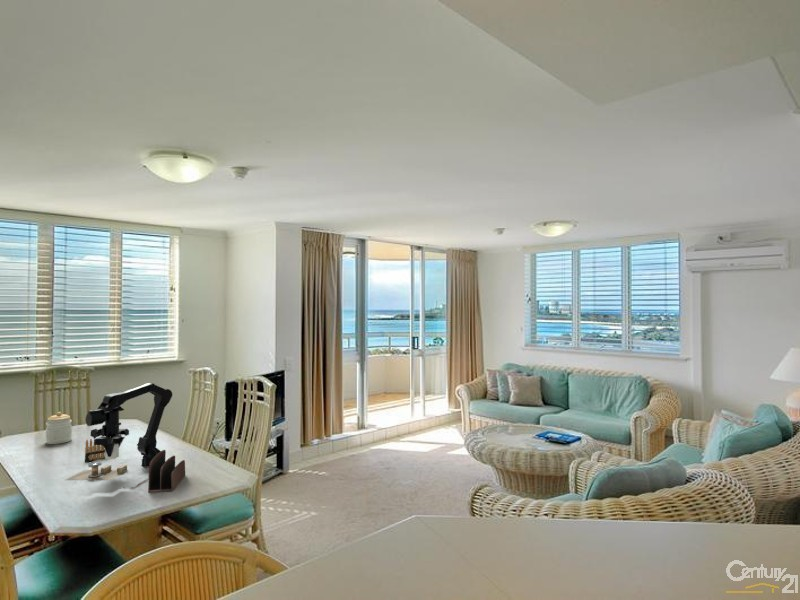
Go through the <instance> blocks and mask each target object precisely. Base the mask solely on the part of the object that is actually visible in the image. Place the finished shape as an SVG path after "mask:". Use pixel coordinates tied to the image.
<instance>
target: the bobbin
mask: <svg viewBox="0 0 800 600" xmlns="http://www.w3.org/2000/svg"><path fill="white" fill-rule="evenodd" d="M87 465H88V468H91V470H92V474H90V475H88V477H89V478H95V477H99V476H101V473H98V470H99V467H100V466H102V462H101V461H99V462H98V461H97V462H95V461H94V462H91V463H88V464H87Z"/></svg>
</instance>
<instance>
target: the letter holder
mask: <svg viewBox="0 0 800 600" xmlns="http://www.w3.org/2000/svg"><path fill="white" fill-rule="evenodd" d="M185 477H186V461H185V460H184V459H183V460H181V461H179V463H178V464H177V465H176V456H175V454H174V455H172V456H170V457H168V459H167V460H166V449H162V450H160V452H159V453H158V454H157V455H156V456H155V457H154V458H153V459H152V460H151V461H150V463H149V467H148V484H147V485H148V487H147V488H148V491H147V493H149V494H150V493H152V494H153V493H168V492H171V493H172V492H173V491H174V490H175V489H176V488H177V487H178V485H179V484H180V483H181V482H182V480H184V478H185Z"/></svg>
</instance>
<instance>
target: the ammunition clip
mask: <svg viewBox="0 0 800 600" xmlns="http://www.w3.org/2000/svg"><path fill="white" fill-rule="evenodd" d="M95 439H96V438H93V440H92V438H90V440H88V439H86V441H85V447H84V463H88V464H90V463H89V462H91V463H94V462H95V461H97V460H106V459H105V448H104V446H102V445H94V443H93V441H94V440H95Z"/></svg>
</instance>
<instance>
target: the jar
mask: <svg viewBox="0 0 800 600" xmlns="http://www.w3.org/2000/svg"><path fill="white" fill-rule="evenodd" d="M72 422H73V420H72V419H71V416H70V415H69V414H64V413H62V412H61V411H58V412H56V414H55V415H51V416H50V417H48V418H47V421H46V422H45V425H46V428H45V443H46V444H48V445H58V444H64V443H69V442H71V441H72V438H73V436H72V435H73V434H72V432H73V431H72V427H73V424H72Z"/></svg>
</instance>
